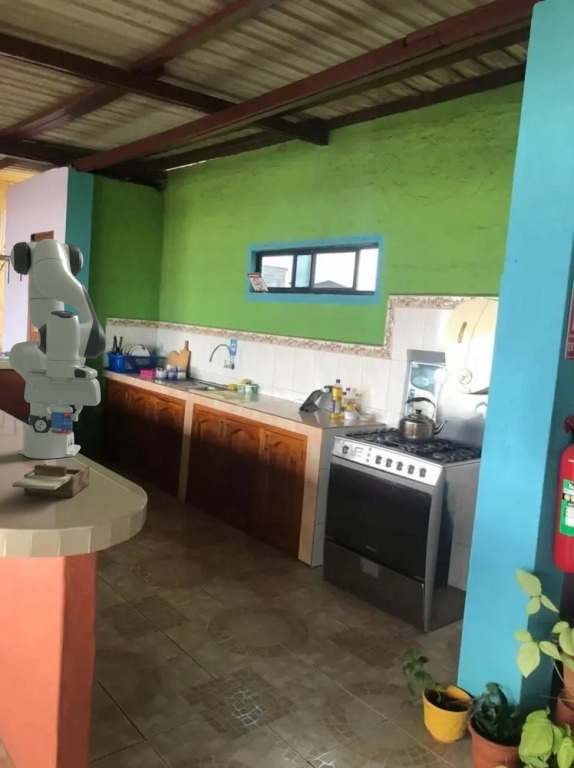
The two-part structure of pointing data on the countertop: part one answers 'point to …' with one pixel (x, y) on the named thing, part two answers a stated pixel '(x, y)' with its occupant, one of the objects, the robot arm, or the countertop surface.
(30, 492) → the lid box
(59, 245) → the robot arm
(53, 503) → the countertop surface
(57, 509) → the countertop surface
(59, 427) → the pill bottle
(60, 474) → the lid
